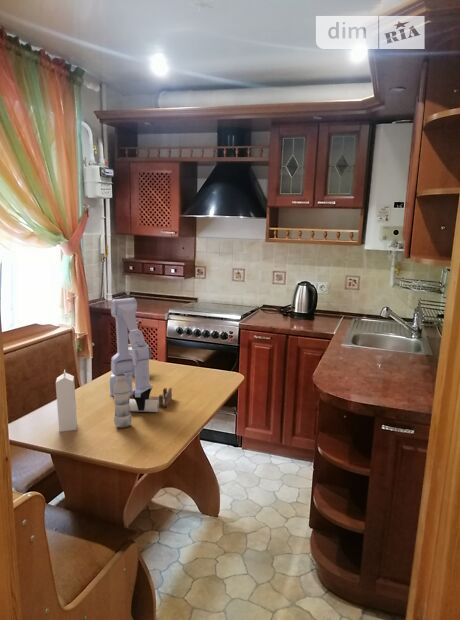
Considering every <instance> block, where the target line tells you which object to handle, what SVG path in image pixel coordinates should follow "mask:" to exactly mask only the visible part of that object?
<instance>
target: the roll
mask: <svg viewBox="0 0 460 620" xmlns="http://www.w3.org/2000/svg"><path fill="white" fill-rule="evenodd" d="M129 406H130V412H142V413H144V412H146V413H147V412H149V413H158V412H159V410H160V408H159V400H146V401H145V408H144V411H139V410H138V407H137V403H136V401H135V399H130V398H129Z"/></svg>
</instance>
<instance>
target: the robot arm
mask: <svg viewBox="0 0 460 620" xmlns="http://www.w3.org/2000/svg"><path fill="white" fill-rule="evenodd" d="M137 310H138V302H137V300H136V298H135V297H128V298H117V299H116V298H113V299H112V300H111V302H110V315H111V317H113V318H114V319H115V330H116V331H115V332H116V347H117V349H116V350H117V352H116V353H115V354H114V355H113V356H111V359H110V360H111V362H110V370H111V375H110V378H109V391H110V392H109V396H113V397H114V394H113V386H114V385H115V383H116V382H117V381H116V375H117V374H126V382H127V383H128V384H129V386H130V395H131V394H132V393H133V391H134V390H135V393H134V394H133V398H134V399H135V401H136V403H137V407H138V410H139V411H138V412H141V411H144V408H145V401H146V400H149V396H150V394H151V391H152V389H153V388H154V387H153V385H151V384H150V383H151V382H150V360H151V359H152V352H151V350H152V349H151V347H150V346H149V344H148V343H147V342H146V339H145V337H144V335H143V331H142V330H141V329H139V327H138V323H137V317H136V314H137ZM128 344H131V347H132V354H130V353H129V351H128ZM134 371H135V377H134V388H133V377H132V374H133V372H134Z"/></svg>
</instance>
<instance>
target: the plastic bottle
mask: <svg viewBox="0 0 460 620" xmlns="http://www.w3.org/2000/svg"><path fill="white" fill-rule="evenodd" d="M116 381H117V382H116V383H115V385H114V386H113V394H114V396H113V398H114V417H113V418H114V419H113V421H114V425H115V426H116V427H117V428H120V429H123V428H128V427H129V426H130V425H132V420H133V418H132V413H131V411H130V406H129V399H130V386H129V384H128V383H127V382H126V374H117V375H116Z"/></svg>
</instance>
